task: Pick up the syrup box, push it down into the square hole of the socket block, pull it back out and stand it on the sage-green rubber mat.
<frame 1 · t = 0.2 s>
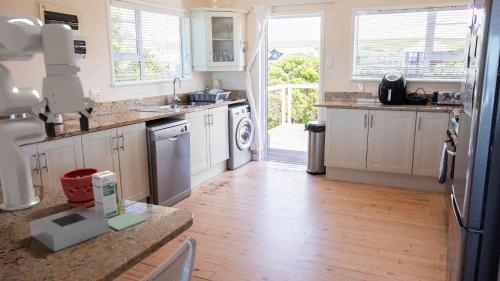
hand: (68, 133, 107), 31 cm above the countertop, tool pointing down, fingers open, 9 cm apart
socket block: (70, 233, 115), on the countertop
rubber mat: (124, 221, 123), on the countertop
plant pot: (83, 204, 140), on the countertop
syrup box: (108, 215, 129), on the countertop
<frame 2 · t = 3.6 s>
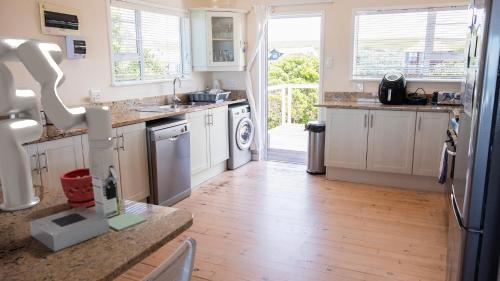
hand: (106, 195, 128), 7 cm above the countertop, tool pointing down, fingers closed on syrup box, 5 cm apart
syrup box: (108, 215, 129), on the countertop, touching gripper
everything else where it was.
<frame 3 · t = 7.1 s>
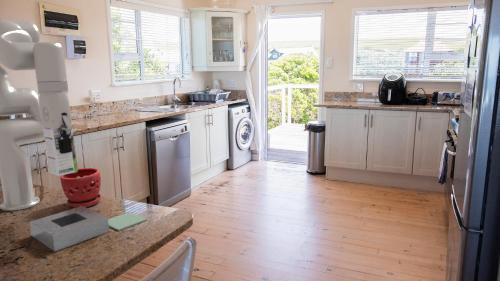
hand: (60, 150, 110), 26 cm above the countertop, tool pointing down, fingers closed on syrup box, 5 cm apart
syrup box: (63, 173, 111), point 19 cm above the countertop, touching gripper
everything else where it was.
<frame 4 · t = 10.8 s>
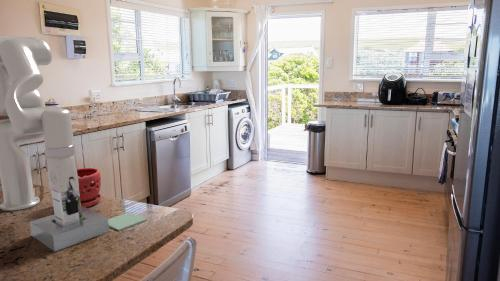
hand: (67, 210, 113), 7 cm above the countertop, tool pointing down, fingers closed on syrup box, 5 cm apart
syrup box: (70, 231, 115), point 1 cm above the countertop, touching gripper
everything else where it was.
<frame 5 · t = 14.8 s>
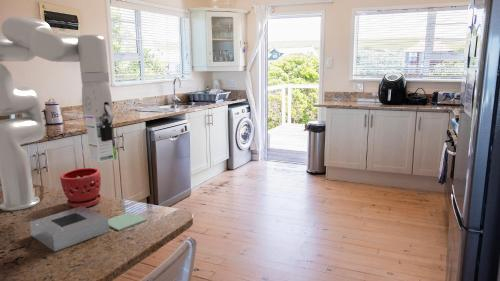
hand: (101, 138, 115), 28 cm above the countertop, tool pointing down, fingers closed on syrup box, 5 cm apart
syrup box: (103, 160, 116), point 21 cm above the countertop, touching gripper
everything else where it was.
when the fingers open (8 cm above the countertop, at t = 18.3 s): syrup box drops 1 cm, resting on rubber mat.
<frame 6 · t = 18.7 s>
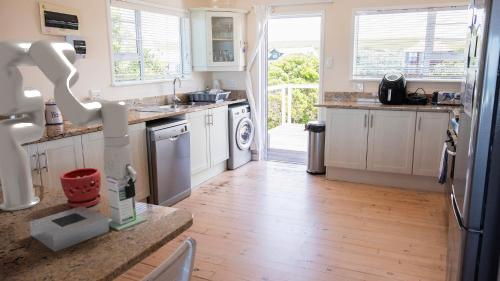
hand: (121, 194, 121), 9 cm above the countertop, tool pointing down, fingers open, 9 cm apart
syrup box: (123, 220, 123), resting on rubber mat
everything else where it was.
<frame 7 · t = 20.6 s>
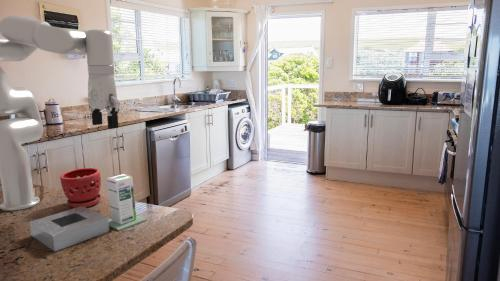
hand: (105, 126, 121), 30 cm above the countertop, tool pointing down, fingers open, 9 cm apart
nothing on the countertop moved.
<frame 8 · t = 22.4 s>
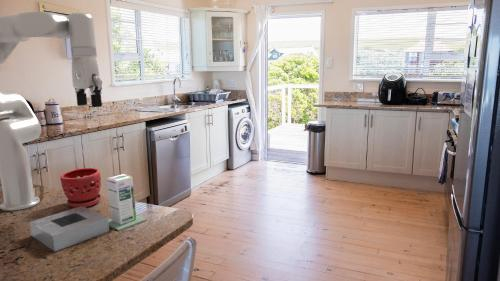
hand: (89, 106, 127), 36 cm above the countertop, tool pointing down, fingers open, 9 cm apart
nothing on the countertop moved.
at the end: syrup box 0.3 cm off-centre on the rubber mat, point 0.3 cm above the rubber mat's base; syrup box tilted 0°; the gripper is holding nothing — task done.
